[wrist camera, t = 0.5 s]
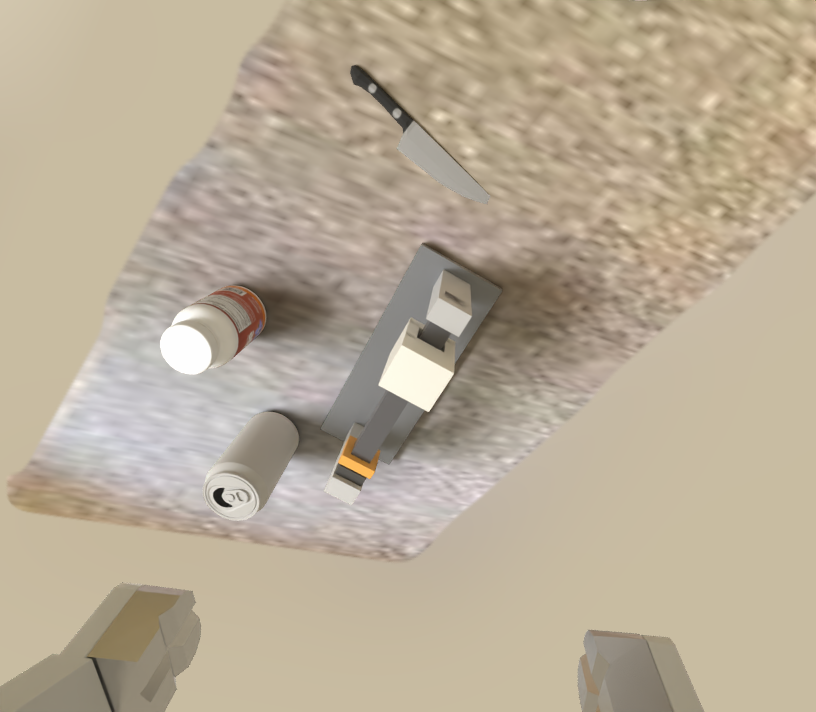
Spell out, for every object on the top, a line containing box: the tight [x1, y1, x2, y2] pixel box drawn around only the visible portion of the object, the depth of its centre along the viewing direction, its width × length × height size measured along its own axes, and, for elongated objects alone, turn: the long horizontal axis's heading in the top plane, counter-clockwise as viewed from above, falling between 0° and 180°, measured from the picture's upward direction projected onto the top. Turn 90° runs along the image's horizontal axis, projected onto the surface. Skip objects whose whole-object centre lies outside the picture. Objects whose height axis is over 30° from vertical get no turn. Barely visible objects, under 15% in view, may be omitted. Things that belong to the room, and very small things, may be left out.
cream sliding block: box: [379, 318, 455, 412], centre depth 40 cm, size 4×5×7 cm
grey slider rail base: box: [321, 243, 502, 505], centre depth 46 cm, size 24×9×11 cm, turn 152°
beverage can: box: [203, 412, 299, 521], centre depth 51 cm, size 6×6×12 cm
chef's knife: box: [351, 65, 490, 204], centre depth 43 cm, size 19×1×3 cm
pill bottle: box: [160, 285, 266, 374], centre depth 46 cm, size 6×6×11 cm
